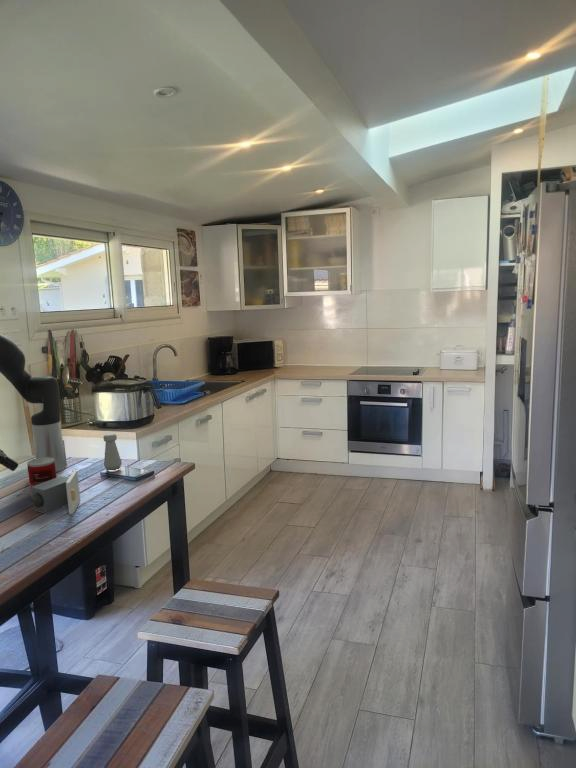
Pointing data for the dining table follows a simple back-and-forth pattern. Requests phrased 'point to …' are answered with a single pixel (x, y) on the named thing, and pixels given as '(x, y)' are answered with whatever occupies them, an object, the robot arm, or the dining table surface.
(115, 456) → the salt shaker
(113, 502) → the dining table surface
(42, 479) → the canned food
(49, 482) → the block
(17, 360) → the robot arm
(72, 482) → the side door
